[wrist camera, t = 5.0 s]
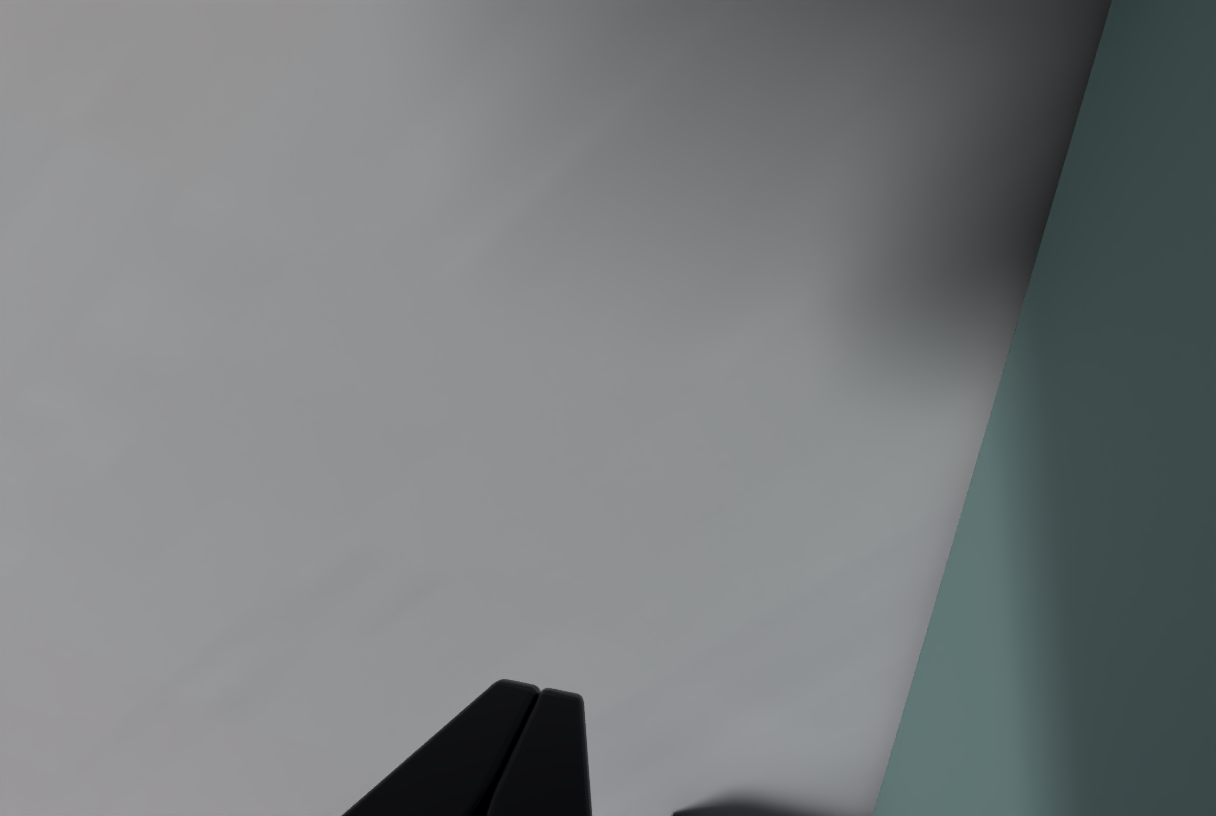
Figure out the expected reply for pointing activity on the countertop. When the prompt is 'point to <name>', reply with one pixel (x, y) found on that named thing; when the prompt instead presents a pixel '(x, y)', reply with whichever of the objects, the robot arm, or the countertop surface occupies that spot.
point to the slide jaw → (1093, 480)
